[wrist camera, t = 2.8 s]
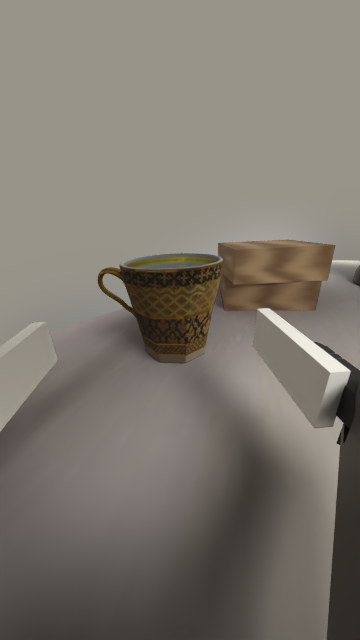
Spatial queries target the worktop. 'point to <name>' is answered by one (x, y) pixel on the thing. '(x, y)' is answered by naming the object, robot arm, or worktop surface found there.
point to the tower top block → (275, 261)
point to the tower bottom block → (269, 295)
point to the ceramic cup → (170, 301)
